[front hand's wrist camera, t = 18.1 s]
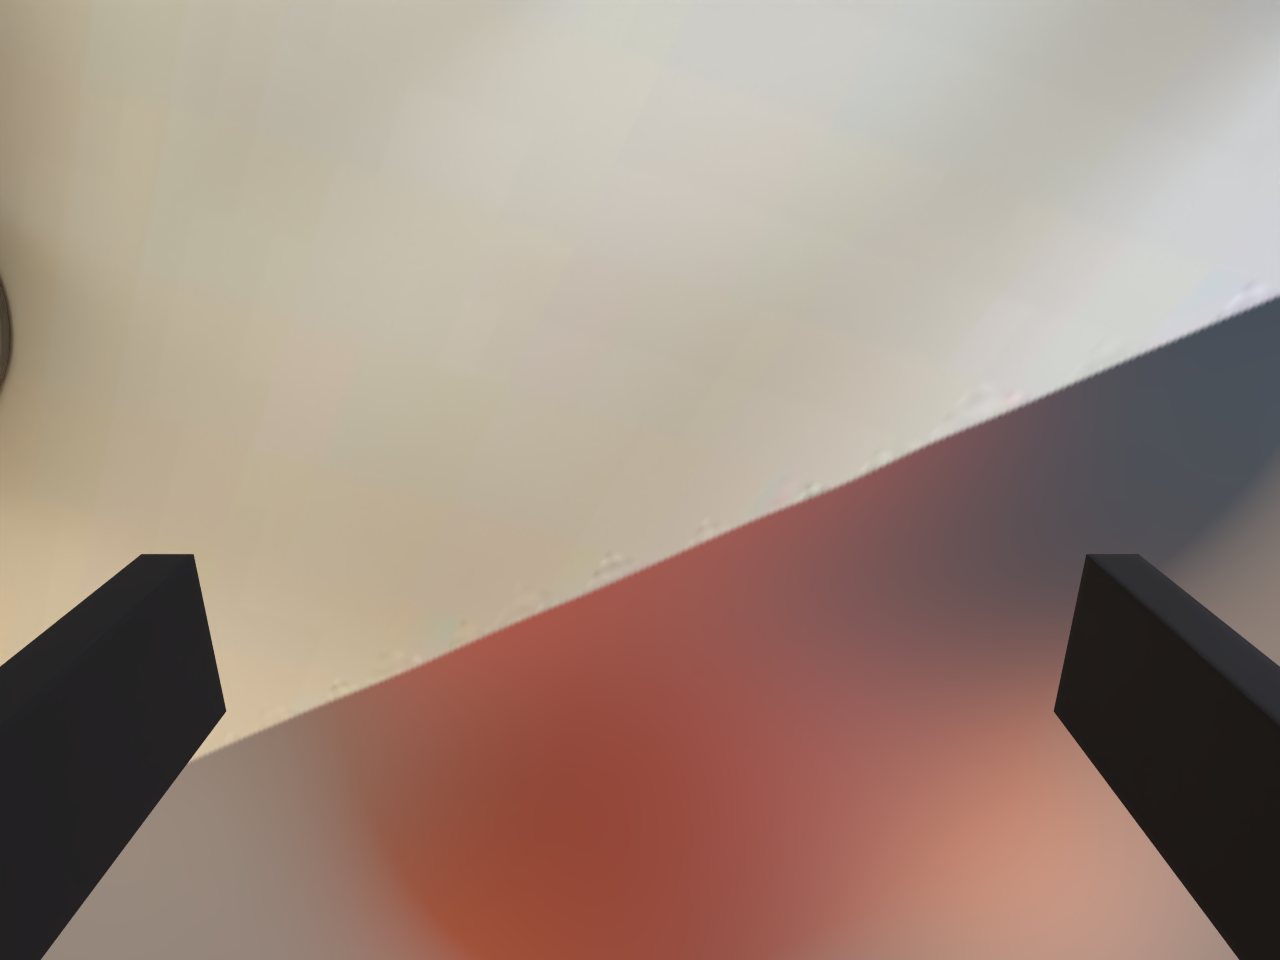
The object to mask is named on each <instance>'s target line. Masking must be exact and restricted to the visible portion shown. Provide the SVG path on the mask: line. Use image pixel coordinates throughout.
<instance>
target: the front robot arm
mask: <svg viewBox="0 0 1280 960" xmlns="http://www.w3.org/2000/svg"><path fill="white" fill-rule="evenodd" d="M9 341H10V332H9V320H8V313H7V308H6V302H5V299H4V295H3V292H2V288H1V285H0V385H1V383H2V380H3V378H4V374H5V370H6V366H7V362H8V355H9ZM225 712H226V708H225V703H224V698H223V693H222V689H221V684H220V679H219V674H218V669H217V665H216V660H215V655H214V650H213V645H212V641H211V636H210V631H209V626H208V621H207V616H206V612H205V607H204V602H203V597H202V592H201V588H200V583H199V578H198V573H197V568H196V564H195V559H194V554H141V555H140V556H139V557H137V558H136V559H135V560H134V561H132V562H131V563H130V564H129V565H127V566H126V567H125V568H124V569H122V570H121V571H120V572H119V573H117V574H116V575H115V576H114V577H112V578H111V579H110V580H109V581H107V582H106V583H105V584H104V585H102V586H101V587H100V588H98V589H97V590H96V591H95V592H93V593H92V594H91V595H90V596H88V597H87V598H86V599H85V600H83V601H82V602H81V603H80V604H78V605H77V606H76V607H75V608H73V609H72V610H71V611H70V612H68V613H67V614H66V615H65V616H63V617H62V618H61V619H60V620H58V621H57V622H56V623H55V624H53V625H52V626H51V627H50V628H48V629H47V630H46V631H44V632H43V633H42V634H41V635H39V636H38V637H37V638H36V639H34V640H33V641H32V642H31V643H29V644H28V645H27V646H26V647H24V648H23V649H22V650H21V651H19V652H18V653H17V654H16V655H14V656H13V657H12V658H11V659H9V660H8V661H7V662H6V663H4V664H3V665H2V666H1V667H0V960H41V958H42V957H43V956H44V955H45V953H46V952H47V951H48V949H49V948H50V947H51V945H52V944H53V943H54V941H55V940H56V939H57V937H58V936H59V934H60V933H61V932H62V930H63V929H64V928H65V926H66V925H67V924H68V922H69V921H70V920H71V918H72V917H73V916H74V914H75V913H76V912H77V910H78V909H79V908H80V906H81V905H82V904H83V902H84V901H85V900H86V898H87V897H88V896H89V894H90V893H91V892H92V890H93V889H94V888H95V886H96V885H97V884H98V882H99V881H100V880H101V878H102V877H103V876H104V874H105V873H106V872H107V870H108V869H109V868H110V866H111V865H112V863H113V862H114V861H115V860H116V858H117V857H118V855H119V854H120V853H121V851H122V850H123V849H124V847H125V846H126V845H127V843H128V842H129V841H130V839H131V838H132V837H133V835H134V834H135V833H136V831H137V830H138V829H139V827H140V826H141V825H142V823H143V822H144V821H145V819H146V818H147V817H148V815H149V814H150V813H151V811H152V810H153V809H154V807H155V806H156V805H157V803H158V802H159V801H160V799H161V798H162V797H163V795H164V794H165V793H166V791H167V790H168V789H169V787H170V786H171V785H172V783H173V782H174V781H175V779H176V778H177V777H178V775H179V774H180V772H181V771H182V770H183V768H184V767H185V766H186V764H187V763H188V762H189V760H190V759H191V758H192V756H193V755H194V754H195V752H196V751H197V750H198V748H199V747H200V746H201V744H202V743H203V742H204V740H205V739H206V738H207V736H208V735H209V734H210V732H211V731H212V730H213V728H214V727H215V726H216V724H217V723H218V722H219V720H220V719H221V718H222V716H223V715H224V714H225ZM1054 712H1055V713H1056V715H1057V716H1058V718H1059V719H1060V720H1061V722H1062V723H1063V724H1064V726H1065V727H1066V728H1067V730H1068V731H1069V732H1070V734H1071V735H1072V736H1073V738H1074V739H1075V740H1076V742H1077V743H1078V744H1079V746H1080V747H1081V748H1082V750H1083V751H1084V752H1085V754H1086V755H1087V756H1088V758H1089V759H1090V760H1091V762H1092V763H1093V764H1094V766H1095V767H1096V768H1097V770H1098V771H1099V772H1100V774H1101V775H1102V776H1103V778H1104V779H1105V781H1106V782H1107V783H1108V784H1109V786H1110V787H1111V789H1112V790H1113V791H1114V793H1115V794H1116V795H1117V797H1118V798H1119V799H1120V801H1121V802H1122V803H1123V805H1124V806H1125V807H1126V809H1127V810H1128V811H1129V813H1130V814H1131V815H1132V817H1133V818H1134V819H1135V821H1136V822H1137V823H1138V825H1139V826H1140V827H1141V829H1142V830H1143V831H1144V833H1145V834H1146V835H1147V837H1148V838H1149V839H1150V841H1151V842H1152V843H1153V845H1154V846H1155V847H1156V849H1157V850H1158V851H1159V853H1160V854H1161V856H1162V857H1163V858H1164V860H1165V861H1166V862H1167V864H1168V865H1169V866H1170V868H1171V869H1172V870H1173V872H1174V873H1175V874H1176V876H1177V877H1178V878H1179V880H1180V881H1181V882H1182V884H1183V885H1184V886H1185V888H1186V889H1187V890H1188V892H1189V893H1190V894H1191V896H1192V897H1193V898H1194V900H1195V901H1196V902H1197V904H1198V905H1199V906H1200V908H1201V909H1202V910H1203V912H1204V913H1205V914H1206V916H1207V917H1208V918H1209V920H1210V921H1211V922H1212V924H1213V925H1214V926H1215V928H1216V929H1217V930H1218V932H1219V933H1220V934H1221V936H1222V937H1223V939H1224V940H1225V941H1226V943H1227V944H1228V945H1229V947H1230V948H1231V949H1232V951H1233V952H1234V953H1235V955H1236V956H1237V957H1238V959H1239V960H1280V667H1279V666H1278V665H1277V664H1276V663H1274V662H1273V661H1272V660H1271V659H1269V658H1268V657H1267V656H1266V655H1264V654H1263V653H1262V652H1261V651H1259V650H1258V649H1257V648H1256V647H1254V646H1253V645H1252V644H1251V643H1249V642H1248V641H1247V640H1246V639H1244V638H1243V637H1242V636H1241V635H1239V634H1238V633H1237V632H1235V631H1234V630H1233V629H1232V628H1230V627H1229V626H1228V625H1227V624H1225V623H1224V622H1223V621H1222V620H1220V619H1219V618H1218V617H1217V616H1215V615H1214V614H1213V613H1212V612H1210V611H1209V610H1208V609H1207V608H1205V607H1204V606H1203V605H1202V604H1200V603H1199V602H1198V601H1197V600H1195V599H1194V598H1193V597H1191V596H1190V595H1189V594H1188V593H1187V592H1185V591H1184V590H1183V589H1181V588H1180V587H1179V586H1178V585H1176V584H1175V583H1174V582H1173V581H1171V580H1170V579H1169V578H1168V577H1166V576H1165V575H1164V574H1163V573H1161V572H1160V571H1159V570H1158V569H1156V568H1155V567H1154V566H1153V565H1151V564H1150V563H1149V562H1148V561H1146V560H1145V559H1144V558H1143V557H1141V556H1140V555H1139V554H1087V555H1086V559H1085V564H1084V568H1083V573H1082V578H1081V583H1080V588H1079V593H1078V597H1077V602H1076V607H1075V612H1074V617H1073V621H1072V626H1071V631H1070V636H1069V641H1068V645H1067V650H1066V655H1065V660H1064V665H1063V669H1062V674H1061V679H1060V684H1059V689H1058V693H1057V698H1056V703H1055V708H1054Z"/></svg>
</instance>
